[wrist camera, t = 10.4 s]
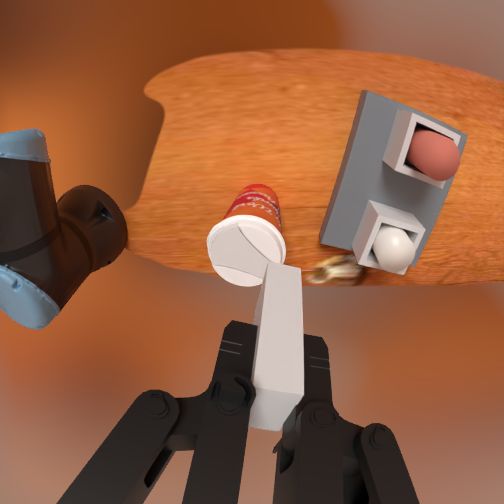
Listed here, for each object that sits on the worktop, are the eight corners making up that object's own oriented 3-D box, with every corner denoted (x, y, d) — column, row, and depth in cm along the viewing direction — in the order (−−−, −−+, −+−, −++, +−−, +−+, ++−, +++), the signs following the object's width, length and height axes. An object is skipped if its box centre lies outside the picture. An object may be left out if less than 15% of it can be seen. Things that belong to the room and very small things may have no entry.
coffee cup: (297, 196, 42) (302, 249, 29) (266, 238, 46) (257, 302, 33) (247, 164, 41) (227, 204, 28) (218, 210, 44) (190, 265, 32)
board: (319, 233, 45) (324, 262, 38) (361, 90, 33) (379, 91, 26) (408, 256, 45) (424, 285, 38) (457, 131, 33) (487, 143, 27)
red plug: (395, 157, 33) (416, 172, 27) (406, 120, 31) (430, 129, 25) (427, 169, 33) (451, 187, 27) (438, 135, 31) (465, 146, 25)
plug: (361, 240, 41) (372, 267, 35) (373, 209, 38) (387, 232, 32) (390, 248, 41) (405, 275, 35) (403, 218, 39) (421, 242, 33)
